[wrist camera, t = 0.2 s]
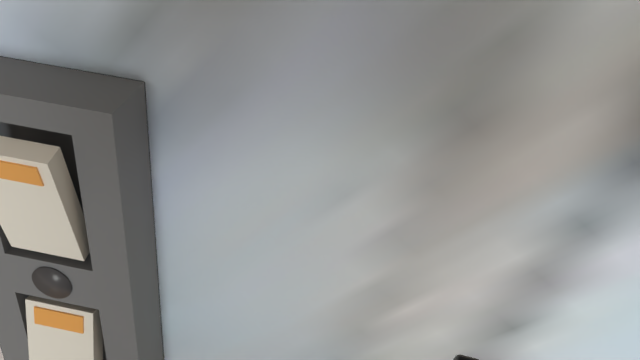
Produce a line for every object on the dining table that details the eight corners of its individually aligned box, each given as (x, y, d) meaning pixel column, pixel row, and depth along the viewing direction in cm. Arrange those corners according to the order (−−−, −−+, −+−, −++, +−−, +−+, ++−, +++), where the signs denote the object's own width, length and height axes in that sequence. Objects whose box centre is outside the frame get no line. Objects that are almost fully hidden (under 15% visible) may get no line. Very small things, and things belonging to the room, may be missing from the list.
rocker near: (94, 244, 28) (83, 262, 27) (22, 230, 28) (10, 248, 27) (60, 147, 23) (46, 165, 22) (-25, 130, 23) (-42, 149, 23)
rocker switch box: (164, 377, 36) (144, 421, 33) (42, 350, 36) (13, 392, 34) (144, 81, 25) (110, 115, 22) (-33, 50, 25) (-85, 79, 23)
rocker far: (103, 397, 32) (93, 412, 31) (42, 384, 33) (30, 398, 32) (102, 302, 30) (92, 314, 29) (36, 288, 30) (23, 300, 29)
